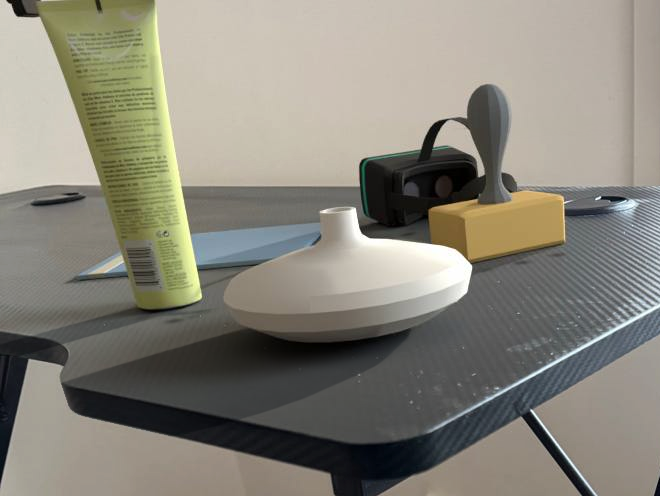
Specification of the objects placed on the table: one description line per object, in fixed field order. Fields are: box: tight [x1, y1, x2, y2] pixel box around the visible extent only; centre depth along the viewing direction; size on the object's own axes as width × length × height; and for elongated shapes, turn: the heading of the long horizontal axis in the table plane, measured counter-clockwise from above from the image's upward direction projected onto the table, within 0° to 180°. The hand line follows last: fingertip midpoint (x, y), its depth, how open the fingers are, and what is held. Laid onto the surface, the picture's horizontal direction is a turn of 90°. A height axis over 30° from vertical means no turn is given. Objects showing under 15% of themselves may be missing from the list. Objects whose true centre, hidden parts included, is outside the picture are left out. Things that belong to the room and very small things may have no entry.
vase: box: [222, 206, 473, 343], centre depth 58 cm, size 16×16×7 cm
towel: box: [76, 221, 322, 281], centre depth 90 cm, size 20×18×1 cm
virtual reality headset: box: [358, 116, 518, 227], centre depth 89 cm, size 11×17×10 cm, turn 31°
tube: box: [36, 0, 203, 310], centre depth 66 cm, size 6×5×20 cm
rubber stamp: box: [428, 83, 566, 264], centre depth 74 cm, size 10×6×12 cm, turn 120°
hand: (100, 7), depth 61 cm, fingers open, 9 cm apart
